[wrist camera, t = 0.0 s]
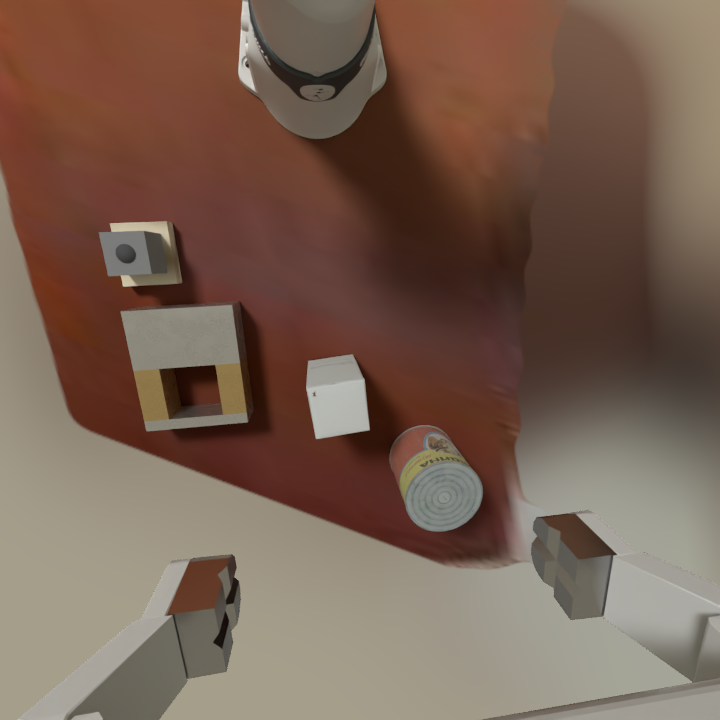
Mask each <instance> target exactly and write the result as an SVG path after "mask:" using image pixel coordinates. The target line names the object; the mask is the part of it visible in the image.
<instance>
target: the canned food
mask: <svg viewBox="0 0 720 720" xmlns="http://www.w3.org/2000/svg"><path fill="white" fill-rule="evenodd" d="M389 461H390V466H391V468H392V470H393V472H394V475H395V478H396V480H397V483H398V486H399V489H400V492H401V494H402V497H403V500H404V503H405V506H406V510H407V513H408V515H409V517H410V518H411V520H412V521H413V522H414V523H415V524H417V525H418V526H419V527H421V528H423V529H426V530H429V531H435V532H443V531H449V530H452V529H455V528H458V527H460V526H461V525H463V524H465V523H466V522H467V521H469V520H470V519H471V518H472V517H473V516H474V514H475V513H476V512H477V510H478V508H479V506H480V504H481V501H482V496H483V488H482V483H481V481H480V478H479V477H478V475H477V474H476V473H475V471H474V470H472V468H471V467H470V466H469V464H468V463H467V462H466V460H465V459H464V458H463V456H462V455H461V454H460V452H459V451H458V450H457V448H456V447H455V446H454V444H453V443H452V442H451V440H450V438H449V437H448V435H447V434H446V433H445V432H444V431H442V430H441V429H439V428H437V427H434V426H429V425H420V426H415V427H412V428H410V429H408V430H406V431H404V432H403V433H402V434H401V435H399V436H398V438H397V439H396V440H395V441H394V443H393V445H392V447H391V450H390V455H389Z"/></svg>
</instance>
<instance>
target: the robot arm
mask: <svg viewBox="0 0 720 720" xmlns="http://www.w3.org/2000/svg"><path fill="white" fill-rule="evenodd" d="M242 1H243V2H242V15H241V36H240V53H239V70H238V73H239V79H240V82H241V84H242V85H243V86H244V87H245V88H246V89H247V90H248V91H250V92H251V93H253V94H254V95H256V96H257V97H259V98H260V99H261V100H262V101H263V103H264V104H265V105H266V107H267V108H268V110H269V111H270V113H271V114H272V115H273V117H274V118H275V119H276V120H277V121H278V122H279V123H280V124H281V125H282V126H284V127H285V128H286V129H288V130H289V131H291V132H293V133H295V134H297V135H299V136H302V137H306V138H311V139H324V138H329V137H333V136H335V135H338V134H340V133H341V132H343V131H345V130H346V129H347V128H349V127H350V126H351V125H352V124H353V123H354V122H355V120H356V119H357V118H358V116H359V115H360V113H361V112H362V110H363V108H364V106H365V104H366V102H367V101H368V99H369V98H370V97H371V96H372V95H374V94H375V93H376V92H377V91H379V90H380V89H381V88H382V87H383V85H384V84H385V82H386V77H387V72H386V66H385V61H384V56H383V51H382V45H381V40H380V35H379V30H378V24H377V19H376V14H375V0H242ZM247 64H248V65H249V68H247V67H246V65H247ZM533 531H534V532H535V533H536V535H537V537H536V539H535V540H534V541H533V543H532V548H531V555H532V560H533V564H534V566H535V569H536V571H537V572H538V574H539V576H540V577H541V579H542V580H543V582H545V583H546V584H548V585H550V586H551V587H553V588H554V597H555V599H556V600H557V602H558V603H559V604H560V606H561V607H562V608H563V610H564V611H565V613H566V614H567V615H568V617H569V618H570V620H575V619H584V618H592V617H601V616H604V619H605V620H607V621H608V622H610V623H611V624H612V625H614V626H615V627H617V628H618V629H619V630H621V631H622V632H624V633H625V634H626V635H628V636H629V637H631V638H632V639H634V640H635V641H636V642H638V643H639V644H640V645H642V646H643V647H645V648H646V649H648V650H649V651H650V652H652V653H653V654H654V655H656V656H657V657H659V658H660V659H661V660H663V661H664V662H666V663H667V664H668V665H670V666H671V667H673V668H674V669H676V670H677V671H678V672H680V673H681V674H683V675H684V676H685V677H687V678H688V679H690V680H691V681H692V683H689V684H684V685H678V686H672V687H666V688H661V689H655V690H649V691H643V692H637V693H631V694H626V695H620V696H614V697H609V698H603V699H598V700H591V701H586V702H580V703H574V704H569V705H563V706H558V707H552V708H546V709H540V710H535V711H529V712H523V713H517V714H512V715H506V716H501V717H494V718H489V719H483V720H720V585H718V584H716V583H713V582H711V581H709V580H706V579H704V578H702V577H700V576H697V575H695V574H693V573H691V572H688V571H686V570H684V569H682V568H679V567H677V566H674V565H672V564H670V563H668V562H665V561H663V560H661V559H659V558H656V557H654V556H652V555H650V554H647V553H645V552H637V551H636V550H635V549H634V548H632V547H631V546H630V545H629V544H628V543H627V542H626V541H625V540H623V539H622V538H621V537H620V536H619V535H618V534H617V533H616V532H614V531H613V530H612V529H611V528H610V527H609V526H608V525H607V524H606V523H604V521H602V520H601V519H600V518H599V517H598V516H597V515H596V514H595V513H593V512H591V511H589V510H586V511H579V512H572V513H569V514H568V513H567V514H560V515H552V516H544V517H536V519H535V521H534V524H533ZM235 571H236V562H235V557H234V556H233V555H232V554H231V555H221V556H210V557H200V558H193V559H184V560H174V561H171V562H170V563H169V564H168V566H167V567H166V569H165V571H164V573H163V575H162V577H161V579H160V581H159V583H158V585H157V587H156V589H155V591H154V593H153V595H152V597H151V599H150V601H149V603H148V605H147V607H146V609H145V611H144V613H143V615H142V617H141V619H140V620H134V621H132V622H131V623H130V624H129V625H128V626H127V627H125V628H124V629H123V630H122V631H121V632H120V633H118V634H117V635H116V636H115V637H114V638H113V639H111V640H110V641H109V642H108V643H107V644H106V645H104V646H103V647H102V648H101V649H100V650H99V651H97V652H96V653H95V654H94V655H93V656H91V657H90V658H89V659H88V660H87V661H86V662H84V663H83V664H82V665H81V666H80V667H79V668H77V669H76V670H75V671H74V672H73V673H72V674H70V675H69V676H68V677H67V678H66V679H65V680H63V681H62V682H61V683H60V684H59V685H58V686H56V687H55V688H54V689H53V690H52V691H51V692H49V693H48V694H47V695H46V696H45V697H44V698H42V700H40V701H39V702H38V703H37V704H35V705H34V706H33V707H32V708H31V709H30V710H28V711H27V712H26V713H25V714H24V715H22V716H21V717H20V718H19V719H18V720H159V719H160V718H161V716H162V715H163V714H164V712H165V711H166V710H167V708H168V707H169V706H170V704H171V703H172V701H173V700H174V699H175V697H176V696H177V695H178V694H179V692H180V691H181V690H182V688H183V687H184V685H185V684H186V683H187V679H189V678H195V677H200V676H206V675H211V674H217V673H222V672H226V671H227V667H228V662H229V657H230V654H231V649H232V645H233V639H232V634H231V631H232V629H233V628H234V627H235V626H236V625H237V622H238V617H239V612H240V600H241V599H240V585H239V581H238V580H237V579H236V578H235V577H234V575H235Z"/></svg>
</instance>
